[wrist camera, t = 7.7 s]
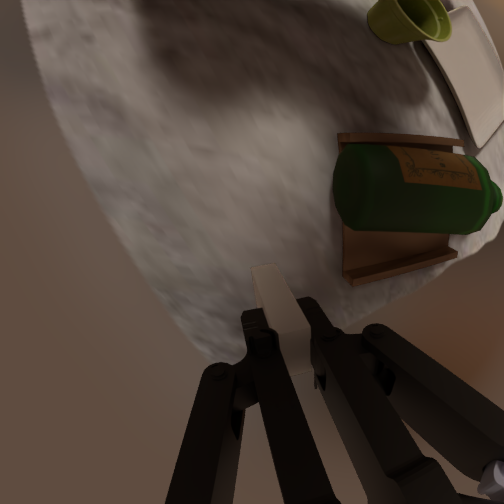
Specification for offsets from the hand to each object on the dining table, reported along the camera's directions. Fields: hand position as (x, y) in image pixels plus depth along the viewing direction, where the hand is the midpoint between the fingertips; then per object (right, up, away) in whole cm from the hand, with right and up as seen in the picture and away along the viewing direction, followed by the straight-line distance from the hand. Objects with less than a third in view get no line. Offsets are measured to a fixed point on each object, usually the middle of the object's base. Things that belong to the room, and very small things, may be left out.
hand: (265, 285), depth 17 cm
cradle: (+20, +9, +15) cm, 26 cm away
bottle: (+8, +8, +8) cm, 14 cm away
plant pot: (+17, +32, +6) cm, 36 cm away
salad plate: (+35, +32, +9) cm, 48 cm away
